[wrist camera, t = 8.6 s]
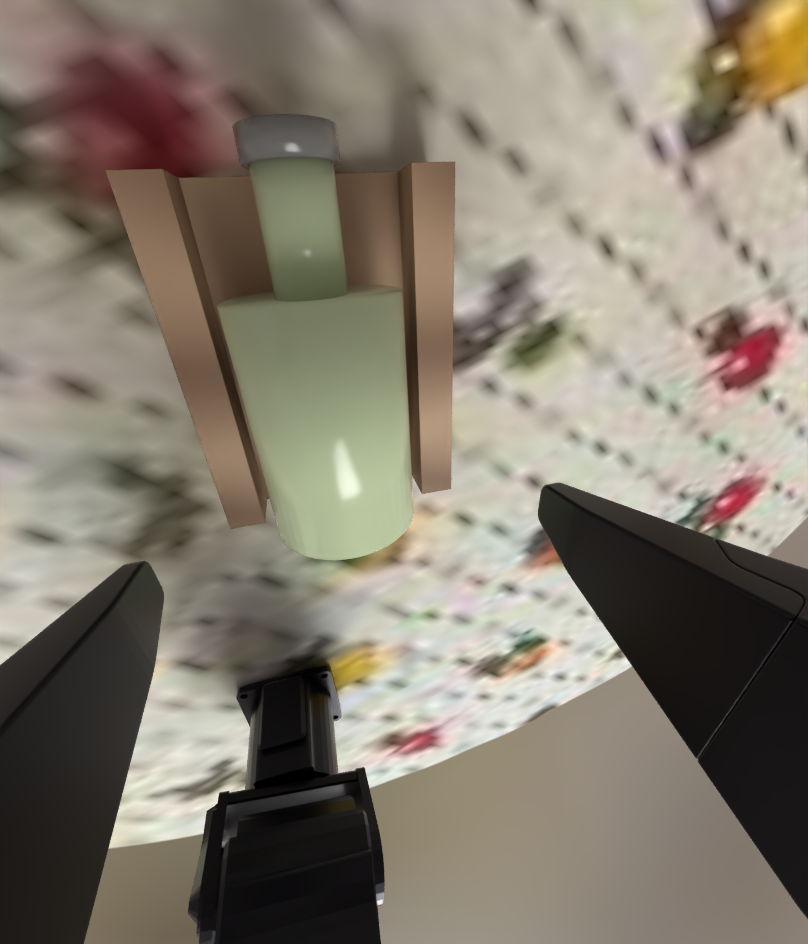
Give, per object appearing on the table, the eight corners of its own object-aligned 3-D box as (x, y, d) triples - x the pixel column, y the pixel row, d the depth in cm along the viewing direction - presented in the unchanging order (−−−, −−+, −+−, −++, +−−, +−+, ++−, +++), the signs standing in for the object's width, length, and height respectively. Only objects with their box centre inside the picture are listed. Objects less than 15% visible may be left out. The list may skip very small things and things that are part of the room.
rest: (432, 460, 22) (450, 488, 20) (237, 493, 20) (230, 528, 18) (428, 174, 16) (455, 161, 13) (139, 183, 14) (105, 170, 11)
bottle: (397, 469, 21) (429, 543, 16) (280, 489, 20) (275, 573, 15) (374, 146, 14) (417, 93, 9) (194, 151, 13) (130, 95, 8)
